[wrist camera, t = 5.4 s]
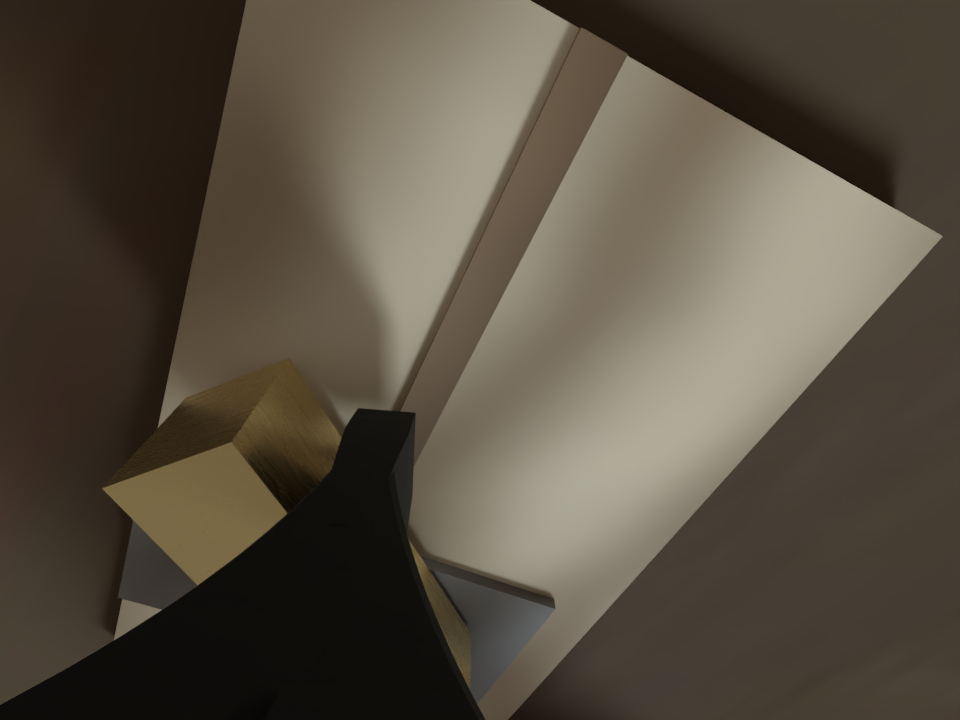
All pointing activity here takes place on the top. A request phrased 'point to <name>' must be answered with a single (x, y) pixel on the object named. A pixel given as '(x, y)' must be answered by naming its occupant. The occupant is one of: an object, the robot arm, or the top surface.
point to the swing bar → (243, 478)
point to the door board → (515, 292)
